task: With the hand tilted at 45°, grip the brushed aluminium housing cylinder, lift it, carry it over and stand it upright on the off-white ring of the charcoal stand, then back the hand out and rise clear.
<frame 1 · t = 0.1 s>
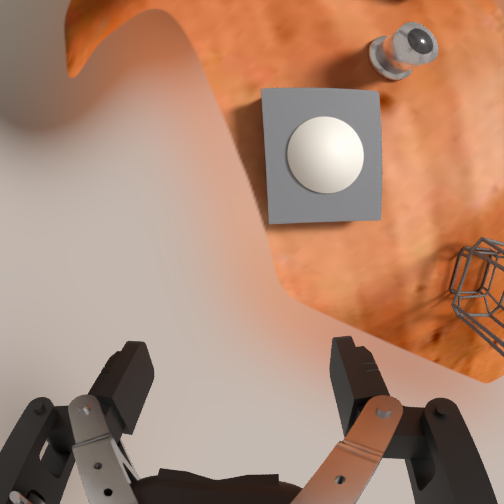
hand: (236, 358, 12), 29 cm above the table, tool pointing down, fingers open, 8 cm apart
geometric lantern: (475, 268, 42), on the table
housing: (390, 58, 32), on the table
stand: (319, 153, 37), on the table
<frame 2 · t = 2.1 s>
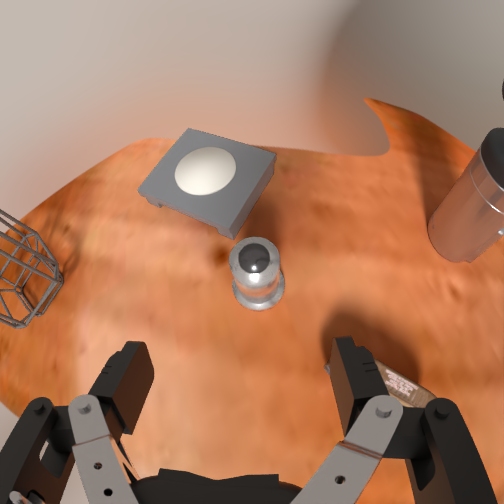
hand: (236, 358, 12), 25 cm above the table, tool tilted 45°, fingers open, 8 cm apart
geometric lantern: (39, 292, 41), on the table
tin: (372, 388, 33), on the table
housing: (258, 286, 39), on the table
stand: (210, 187, 47), on the table
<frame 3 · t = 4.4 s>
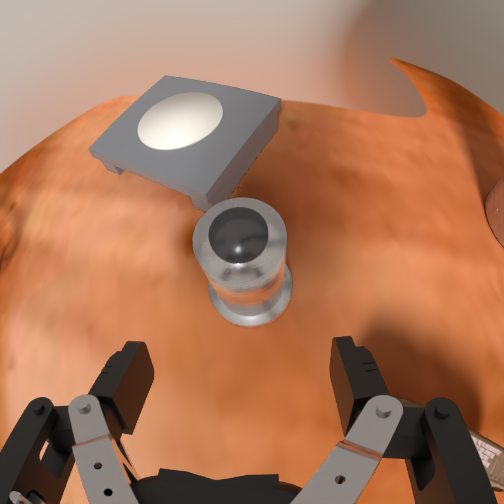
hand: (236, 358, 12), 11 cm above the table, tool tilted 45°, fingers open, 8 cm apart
tin: (419, 443, 18), on the table
housing: (251, 288, 25), on the table
stand: (188, 146, 32), on the table
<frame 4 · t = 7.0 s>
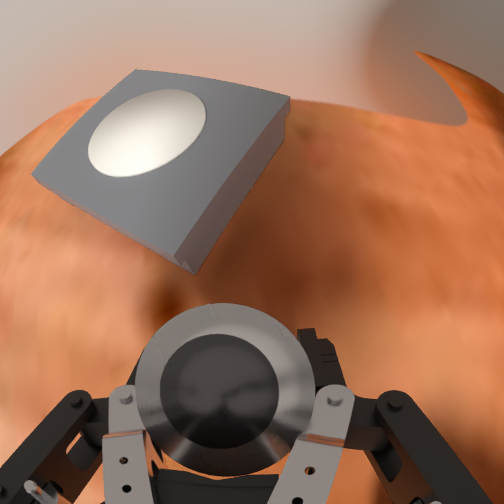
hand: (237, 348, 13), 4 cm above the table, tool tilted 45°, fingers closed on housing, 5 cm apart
housing: (247, 387, 16), on the table, touching gripper
stand: (161, 165, 23), on the table
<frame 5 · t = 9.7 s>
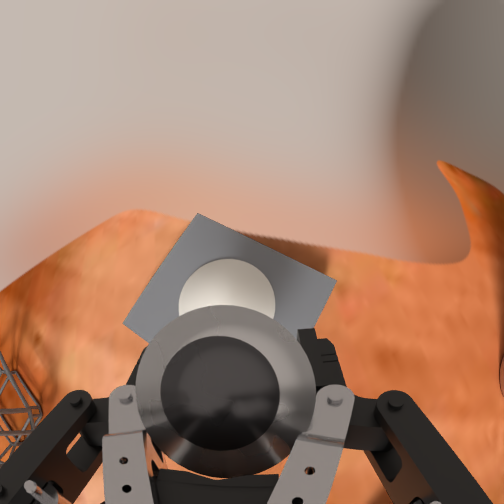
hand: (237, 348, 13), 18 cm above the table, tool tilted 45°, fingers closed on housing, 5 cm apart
geometric lantern: (17, 414, 27), on the table
housing: (247, 388, 16), point 14 cm above the table, touching gripper
stand: (231, 315, 32), on the table
when the fingers open (10 cm above the table, at t = 12.6 s): housing drops 1 cm, resting on stand.
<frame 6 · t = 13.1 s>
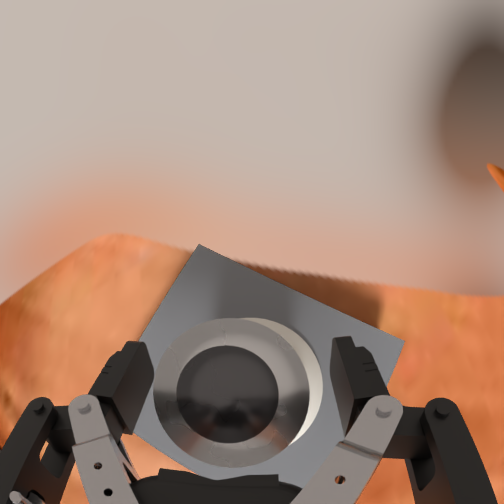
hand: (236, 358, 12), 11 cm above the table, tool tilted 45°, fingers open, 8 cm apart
housing: (249, 389, 17), point 4 cm above the table, touching stand
stand: (253, 387, 21), on the table
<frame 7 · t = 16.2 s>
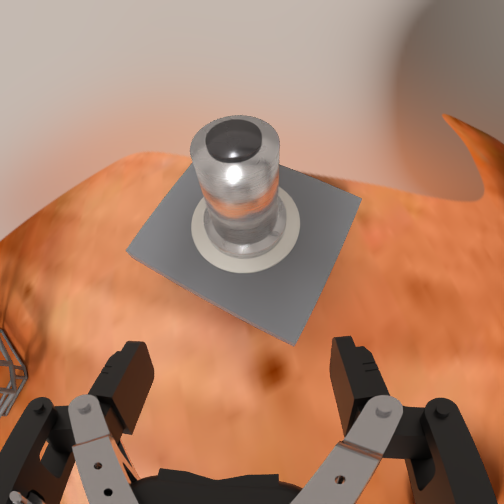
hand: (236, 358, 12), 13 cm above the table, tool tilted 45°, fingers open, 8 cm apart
geometric lantern: (0, 380, 24), on the table
housing: (245, 221, 25), point 4 cm above the table, touching stand
stand: (248, 245, 29), on the table
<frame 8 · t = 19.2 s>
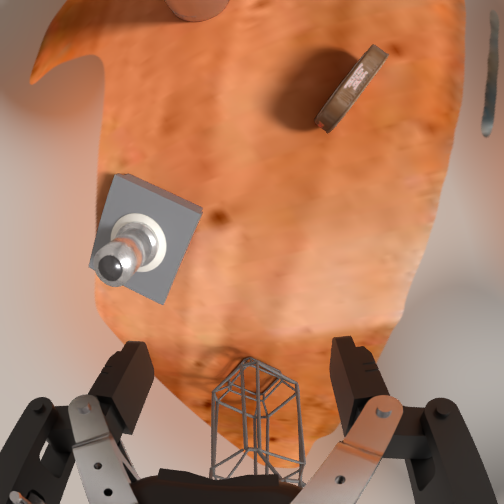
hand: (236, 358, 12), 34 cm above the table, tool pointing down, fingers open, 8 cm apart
geometric lantern: (259, 377, 56), on the table
tin: (343, 91, 38), on the table
housing: (137, 243, 42), point 4 cm above the table, touching stand
stand: (147, 234, 46), on the table
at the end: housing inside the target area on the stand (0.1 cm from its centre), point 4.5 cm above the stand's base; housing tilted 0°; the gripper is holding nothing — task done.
